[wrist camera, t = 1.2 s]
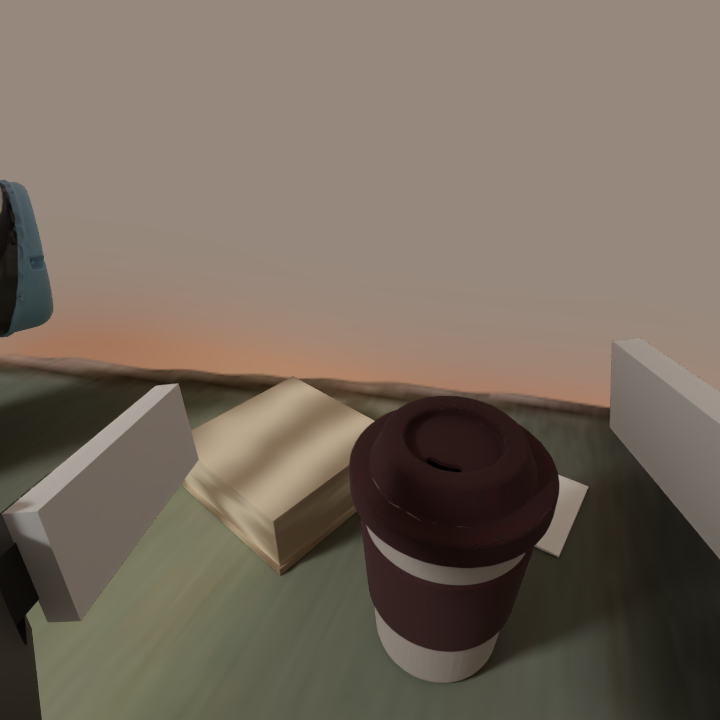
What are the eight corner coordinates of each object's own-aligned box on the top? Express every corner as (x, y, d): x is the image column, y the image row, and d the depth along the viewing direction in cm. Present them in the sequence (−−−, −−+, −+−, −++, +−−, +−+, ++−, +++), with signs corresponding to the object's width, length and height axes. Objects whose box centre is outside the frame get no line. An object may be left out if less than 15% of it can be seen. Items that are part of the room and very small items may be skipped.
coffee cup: (447, 535, 37) (466, 360, 30) (554, 653, 30) (616, 459, 22) (326, 599, 33) (312, 413, 25) (416, 754, 26) (434, 558, 18)
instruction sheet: (430, 498, 40) (430, 495, 40) (472, 443, 46) (472, 440, 46) (558, 558, 36) (559, 555, 35) (588, 488, 41) (588, 485, 41)
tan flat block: (183, 486, 42) (170, 439, 39) (297, 418, 50) (293, 374, 47) (280, 575, 35) (272, 524, 32) (396, 478, 42) (397, 431, 40)
